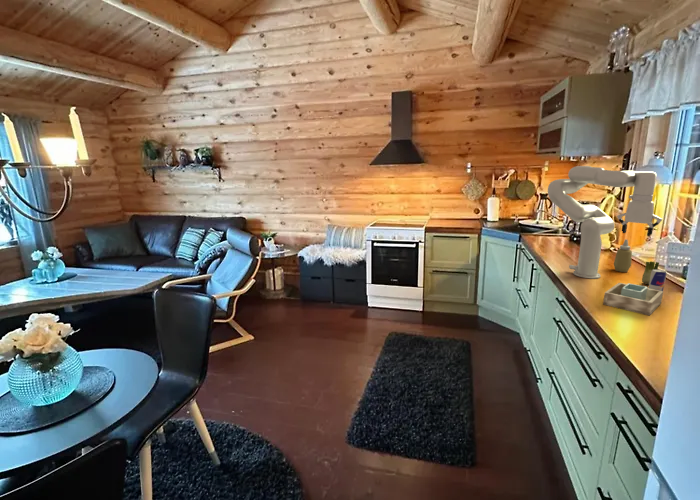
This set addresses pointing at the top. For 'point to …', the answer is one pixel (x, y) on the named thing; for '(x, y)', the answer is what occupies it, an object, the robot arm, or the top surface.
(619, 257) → the squeeze bottle
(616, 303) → the wooden crate
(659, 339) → the top surface
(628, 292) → the small crate
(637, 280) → the top surface
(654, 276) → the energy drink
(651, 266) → the fennel bulb
